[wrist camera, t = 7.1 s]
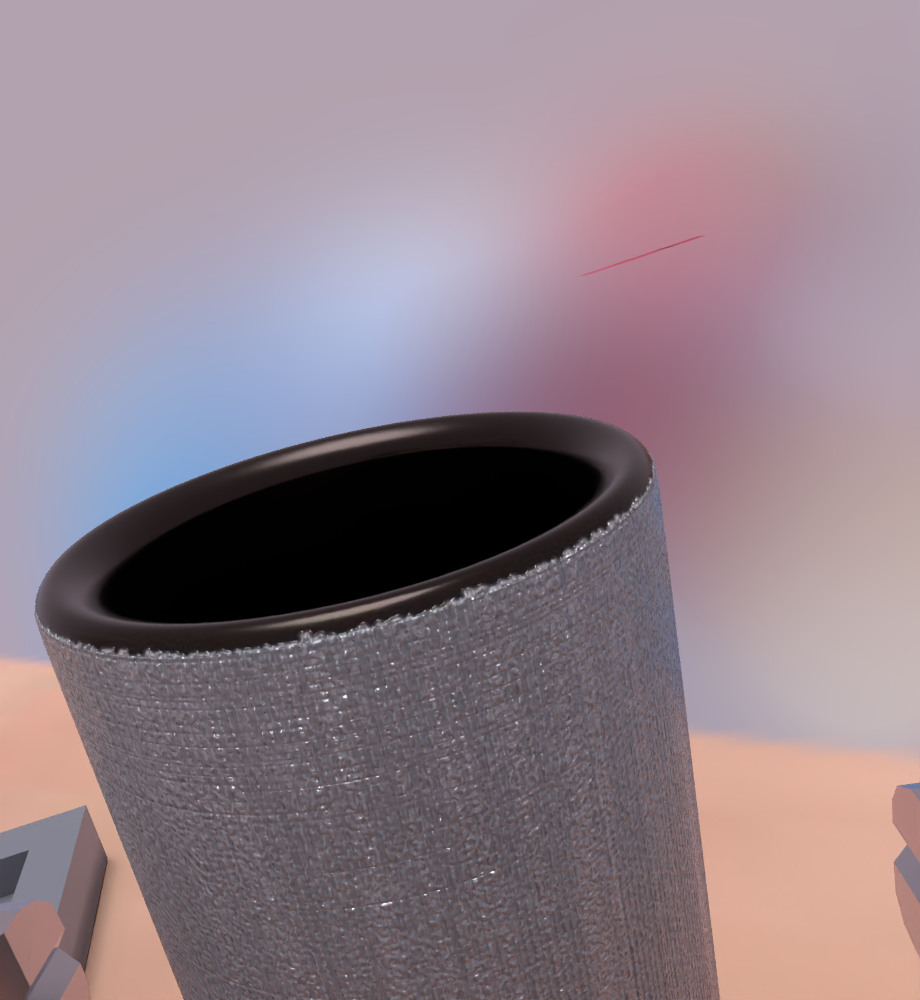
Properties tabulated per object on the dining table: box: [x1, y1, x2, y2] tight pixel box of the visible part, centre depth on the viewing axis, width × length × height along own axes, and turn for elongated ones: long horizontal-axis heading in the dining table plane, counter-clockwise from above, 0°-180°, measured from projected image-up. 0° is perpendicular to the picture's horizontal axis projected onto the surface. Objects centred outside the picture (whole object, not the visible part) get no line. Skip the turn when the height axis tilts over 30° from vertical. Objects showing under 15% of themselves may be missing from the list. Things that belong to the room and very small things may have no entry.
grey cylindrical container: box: [35, 412, 720, 1000], centre depth 8 cm, size 4×4×10 cm
